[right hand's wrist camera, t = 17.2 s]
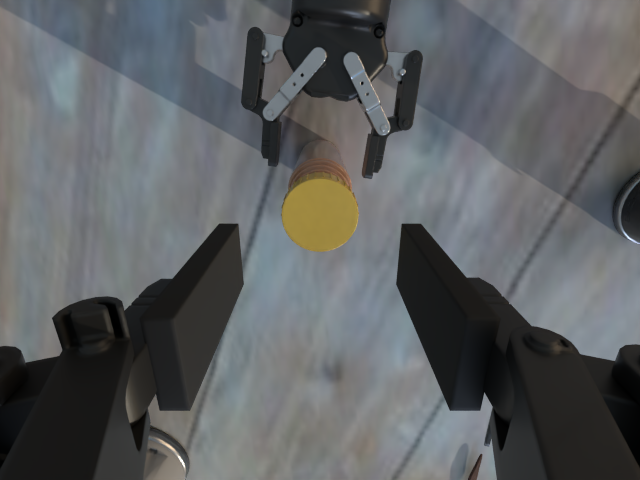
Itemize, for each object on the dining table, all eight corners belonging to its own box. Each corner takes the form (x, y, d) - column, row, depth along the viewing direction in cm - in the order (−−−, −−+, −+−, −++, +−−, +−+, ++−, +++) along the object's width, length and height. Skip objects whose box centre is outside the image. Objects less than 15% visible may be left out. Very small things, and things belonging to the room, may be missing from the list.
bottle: (321, 129, 37) (322, 155, 18) (349, 162, 38) (377, 216, 19) (290, 160, 38) (261, 212, 19) (318, 190, 39) (318, 266, 21)
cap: (321, 155, 20) (321, 160, 18) (370, 209, 21) (375, 218, 19) (268, 205, 21) (264, 214, 19) (318, 254, 22) (318, 267, 20)
